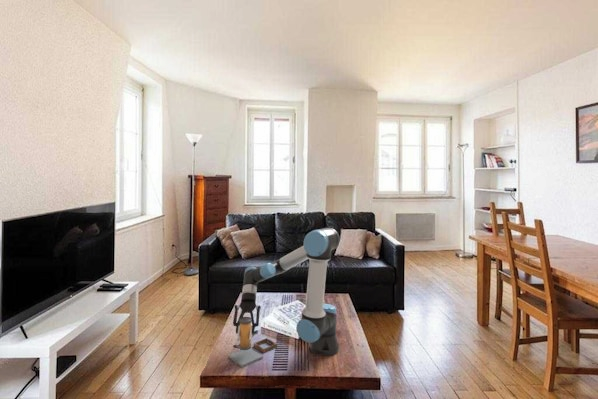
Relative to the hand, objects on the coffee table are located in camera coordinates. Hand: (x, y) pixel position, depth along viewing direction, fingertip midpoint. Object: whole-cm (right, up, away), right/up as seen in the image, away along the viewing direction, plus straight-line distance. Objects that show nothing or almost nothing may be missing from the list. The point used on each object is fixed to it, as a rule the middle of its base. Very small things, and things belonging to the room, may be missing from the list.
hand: (244, 340), depth 156 cm
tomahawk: (-1, -10, +23) cm, 25 cm away
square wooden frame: (+9, -10, +15) cm, 20 cm away
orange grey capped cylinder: (0, -5, +4) cm, 6 cm away
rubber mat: (0, -10, +4) cm, 11 cm away
